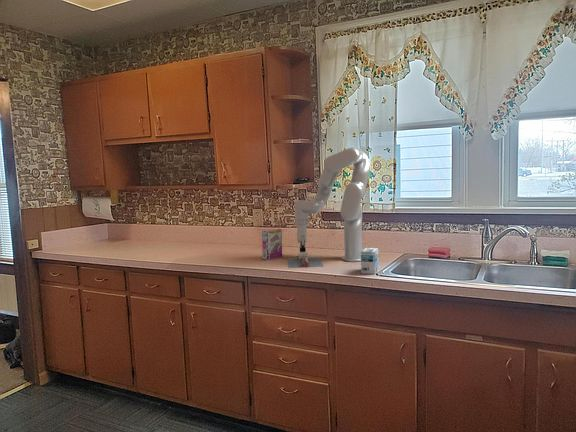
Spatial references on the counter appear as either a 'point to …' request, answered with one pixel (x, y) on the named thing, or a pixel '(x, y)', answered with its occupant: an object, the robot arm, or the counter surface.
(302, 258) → the tong arm
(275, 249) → the candy bar box
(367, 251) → the light bulb box
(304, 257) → the tongs fixed
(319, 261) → the mat
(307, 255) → the lock tab
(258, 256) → the counter surface
